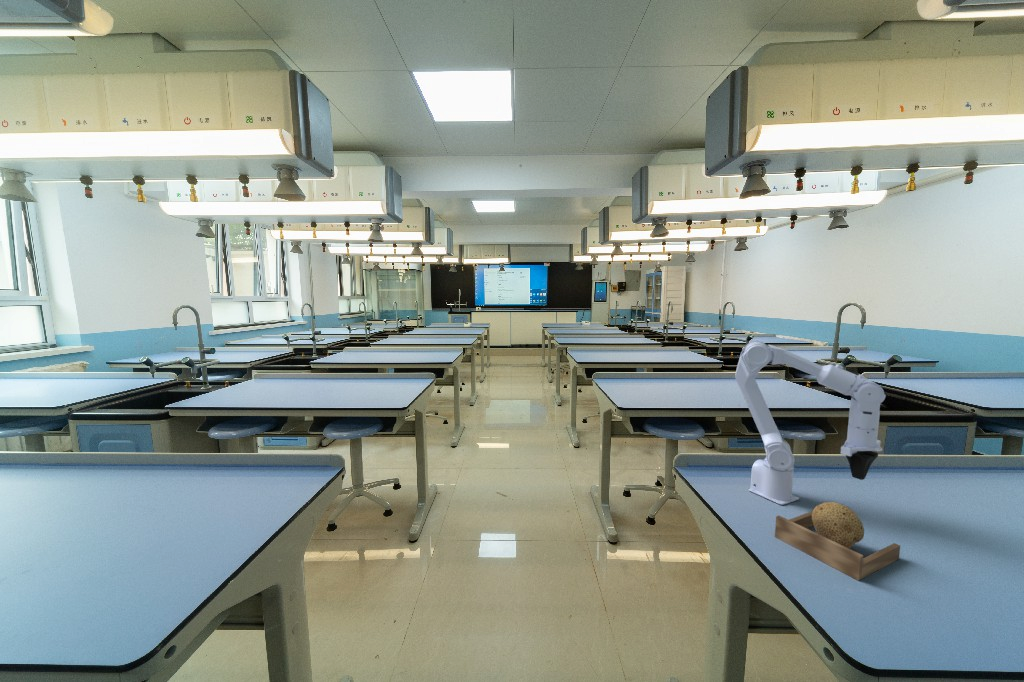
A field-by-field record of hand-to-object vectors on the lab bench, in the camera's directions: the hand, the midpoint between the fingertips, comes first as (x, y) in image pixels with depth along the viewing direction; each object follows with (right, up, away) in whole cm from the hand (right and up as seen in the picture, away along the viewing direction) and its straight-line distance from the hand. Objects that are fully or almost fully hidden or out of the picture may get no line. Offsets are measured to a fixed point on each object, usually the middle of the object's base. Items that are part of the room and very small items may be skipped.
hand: (858, 478), depth 101 cm
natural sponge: (-17, -11, -13) cm, 24 cm away
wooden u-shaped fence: (-17, -11, -13) cm, 24 cm away
